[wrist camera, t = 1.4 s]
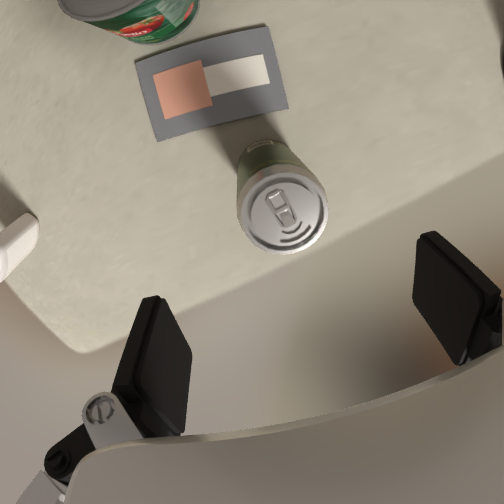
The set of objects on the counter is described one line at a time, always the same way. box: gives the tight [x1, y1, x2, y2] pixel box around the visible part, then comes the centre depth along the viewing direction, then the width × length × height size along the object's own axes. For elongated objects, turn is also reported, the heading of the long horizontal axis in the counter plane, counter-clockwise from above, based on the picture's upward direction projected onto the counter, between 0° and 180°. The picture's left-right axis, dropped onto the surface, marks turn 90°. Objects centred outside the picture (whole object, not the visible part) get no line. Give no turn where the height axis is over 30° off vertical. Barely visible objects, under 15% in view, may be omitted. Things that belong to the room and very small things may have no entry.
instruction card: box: [135, 26, 289, 142], centre depth 23 cm, size 12×8×1 cm, turn 103°
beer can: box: [237, 140, 328, 254], centre depth 22 cm, size 5×5×12 cm
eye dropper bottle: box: [0, 213, 39, 282], centre depth 23 cm, size 4×6×12 cm
